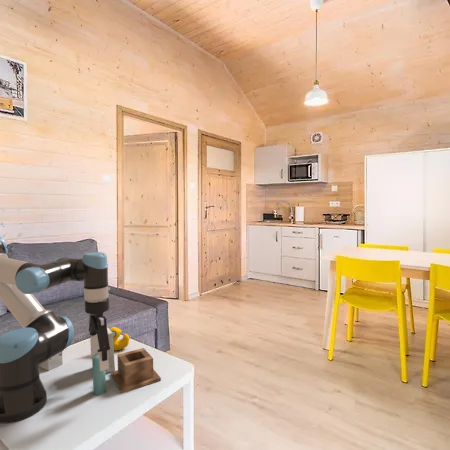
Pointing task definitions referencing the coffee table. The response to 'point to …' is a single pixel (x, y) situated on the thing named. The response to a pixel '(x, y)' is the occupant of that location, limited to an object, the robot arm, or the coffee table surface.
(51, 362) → the skincare box
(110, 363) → the skincare box
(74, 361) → the coffee table surface
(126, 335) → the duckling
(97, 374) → the peg
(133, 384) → the socket
